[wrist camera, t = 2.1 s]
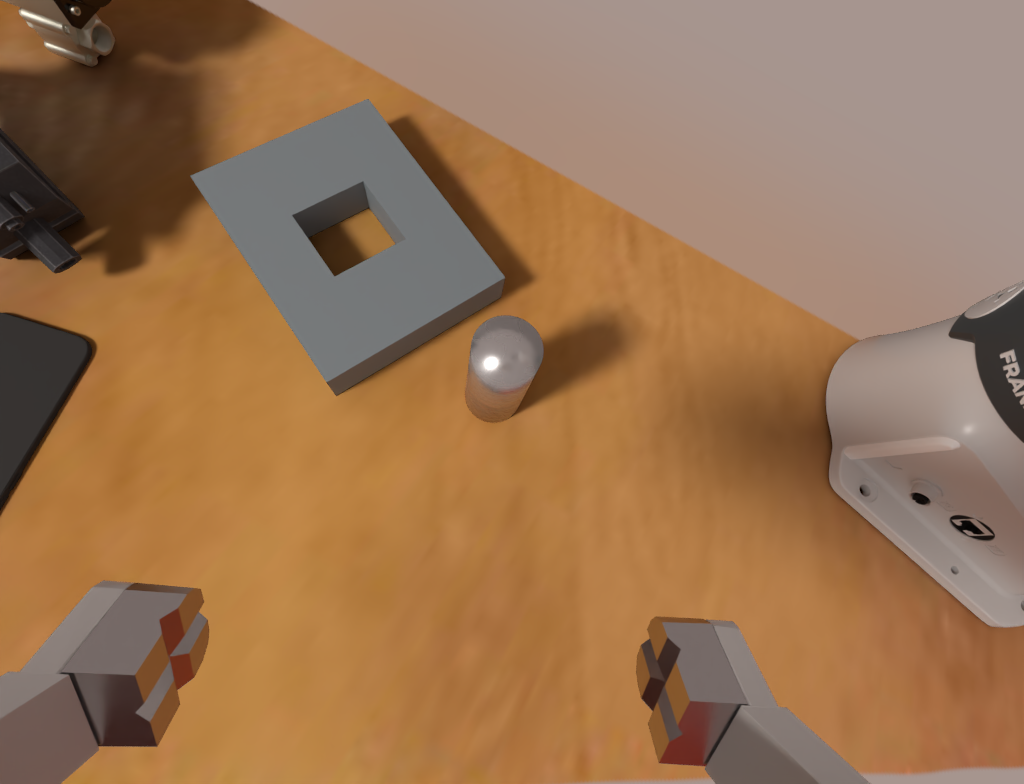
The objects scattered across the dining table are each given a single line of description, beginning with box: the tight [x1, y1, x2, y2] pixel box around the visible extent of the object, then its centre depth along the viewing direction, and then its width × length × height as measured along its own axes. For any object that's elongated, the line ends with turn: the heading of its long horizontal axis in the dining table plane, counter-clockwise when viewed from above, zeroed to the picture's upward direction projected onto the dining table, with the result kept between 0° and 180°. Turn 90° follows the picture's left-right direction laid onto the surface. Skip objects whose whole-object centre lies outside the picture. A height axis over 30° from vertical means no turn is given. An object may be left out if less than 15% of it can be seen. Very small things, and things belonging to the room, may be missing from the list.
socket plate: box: [190, 99, 505, 396], centre depth 37 cm, size 18×14×3 cm
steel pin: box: [465, 316, 544, 423], centre depth 32 cm, size 4×4×9 cm
